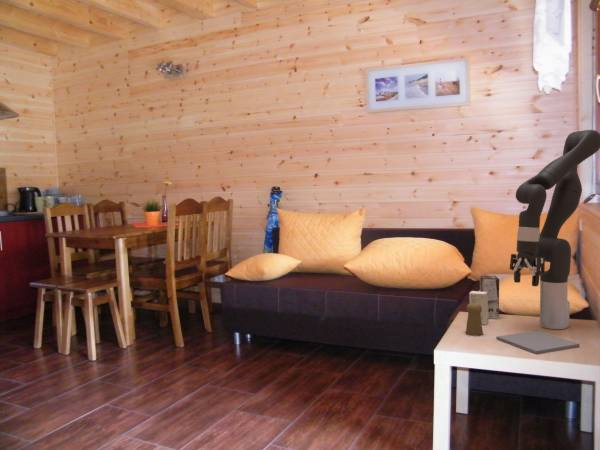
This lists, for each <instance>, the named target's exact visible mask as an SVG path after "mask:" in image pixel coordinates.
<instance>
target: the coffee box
mask: <svg viewBox="0 0 600 450" xmlns="http://www.w3.org/2000/svg"><path fill="white" fill-rule="evenodd" d="M479 291H481V292H488V319H494V320H497V319H500V278H499V277H498V276H496V275H479Z"/></svg>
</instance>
